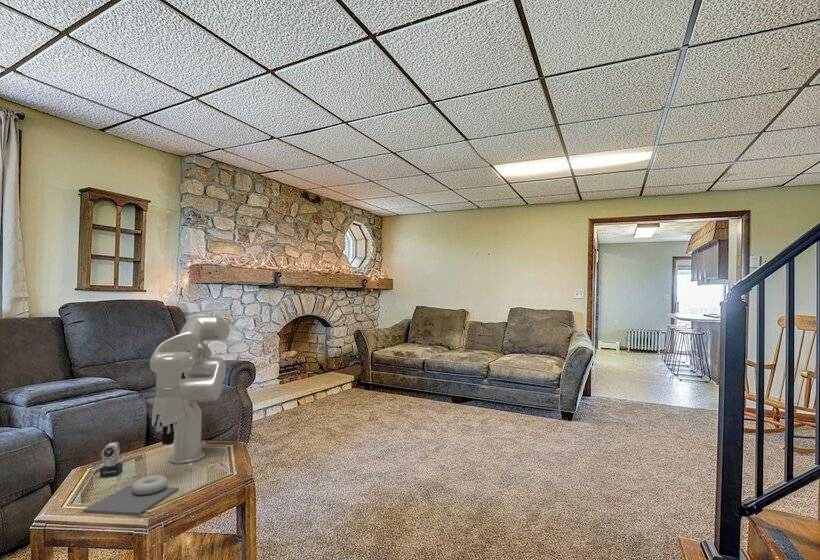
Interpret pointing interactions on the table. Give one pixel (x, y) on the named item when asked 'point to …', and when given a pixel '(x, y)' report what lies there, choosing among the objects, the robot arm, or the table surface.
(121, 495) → the mat
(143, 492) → the donut
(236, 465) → the table surface
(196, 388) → the robot arm
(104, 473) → the watch
